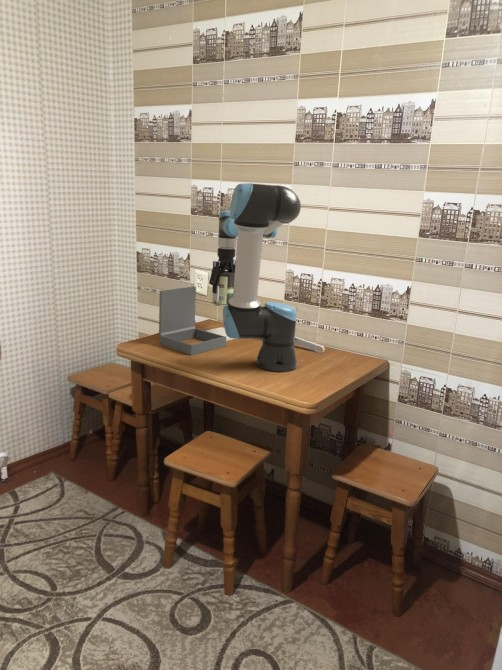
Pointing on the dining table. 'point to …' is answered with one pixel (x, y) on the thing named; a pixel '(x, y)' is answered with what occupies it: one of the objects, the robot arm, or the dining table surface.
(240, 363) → the dining table surface
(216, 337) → the case
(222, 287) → the coffee can
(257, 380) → the dining table surface
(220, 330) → the mat
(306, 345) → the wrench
